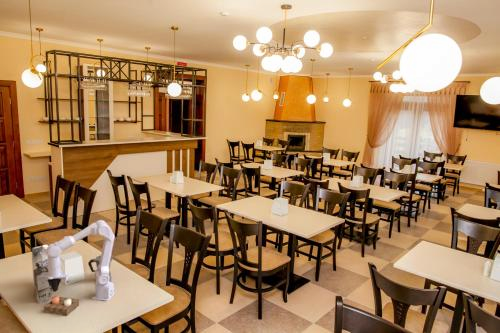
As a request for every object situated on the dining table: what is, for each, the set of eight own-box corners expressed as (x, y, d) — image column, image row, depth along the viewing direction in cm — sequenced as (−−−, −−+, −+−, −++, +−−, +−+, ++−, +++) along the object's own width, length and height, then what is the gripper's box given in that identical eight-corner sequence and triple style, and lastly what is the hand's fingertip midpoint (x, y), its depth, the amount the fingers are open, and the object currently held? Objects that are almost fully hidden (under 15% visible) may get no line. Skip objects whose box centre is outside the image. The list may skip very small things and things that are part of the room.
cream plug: (73, 307, 186) (72, 299, 185) (68, 311, 183) (68, 302, 182) (67, 306, 187) (66, 298, 186) (62, 310, 183) (62, 301, 183)
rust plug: (61, 304, 187) (60, 296, 186) (56, 308, 184) (56, 299, 183) (55, 304, 188) (54, 295, 187) (50, 307, 184) (50, 298, 183)
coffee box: (51, 299, 194) (50, 272, 191) (38, 303, 190) (36, 275, 187) (47, 292, 200) (46, 266, 198) (34, 296, 196) (32, 269, 193)
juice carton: (32, 289, 202) (29, 245, 198) (50, 282, 211) (47, 240, 207) (40, 294, 198) (38, 249, 193) (58, 287, 207) (56, 243, 202)
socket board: (79, 305, 189) (78, 299, 189) (66, 315, 180) (66, 309, 179) (57, 302, 191) (57, 296, 191) (44, 312, 181) (43, 306, 181)
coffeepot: (112, 274, 225) (111, 248, 222) (117, 280, 217) (116, 253, 214) (86, 281, 215) (85, 253, 212) (91, 287, 208) (90, 259, 205)
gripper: (36, 268, 179) (37, 292, 182) (61, 271, 177) (62, 296, 180) (46, 262, 186) (47, 286, 188) (70, 265, 184) (71, 289, 186)
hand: (55, 290), depth 184 cm, fingers closed
